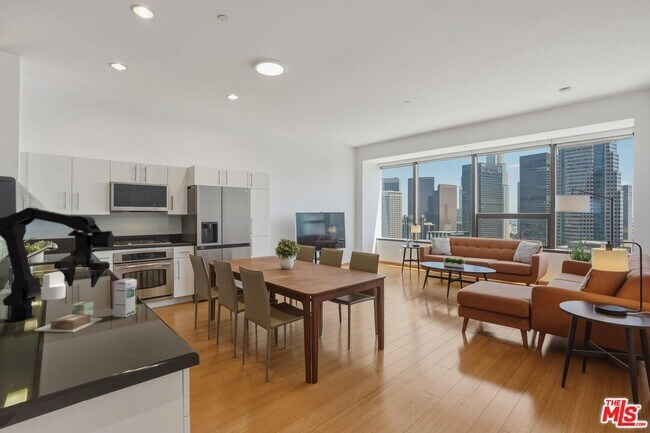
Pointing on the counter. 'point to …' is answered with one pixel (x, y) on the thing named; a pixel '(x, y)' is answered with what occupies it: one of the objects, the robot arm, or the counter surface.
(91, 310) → the sage block
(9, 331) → the counter surface
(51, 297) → the cylinder with rectangular tab
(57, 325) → the board
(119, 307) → the syrup box
